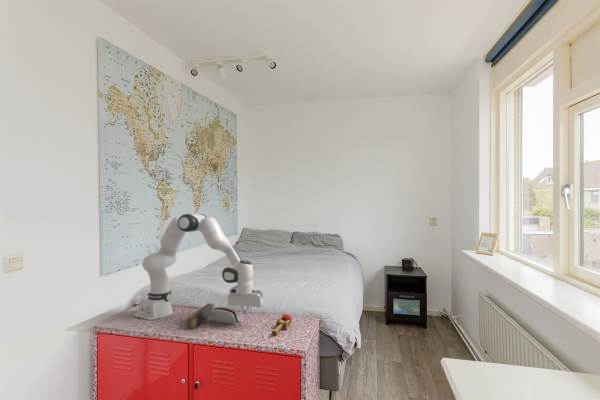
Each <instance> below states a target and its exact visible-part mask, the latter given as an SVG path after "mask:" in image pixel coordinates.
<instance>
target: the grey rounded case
mask: <svg viewBox="0 0 600 400" xmlns="http://www.w3.org/2000/svg"><path fill="white" fill-rule="evenodd" d="M211 321H213V322H217V323H218V322H219V323H223V324H231V325H236V326H237V325H238V323H239V322H241V319H240V318H239V316H238V314H237V311H236V310H235V309H233V308H230V307H225V306H216V307H215V306H214V309H213V310H212V312H211Z"/></svg>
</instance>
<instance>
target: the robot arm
mask: <svg viewBox="0 0 600 400" xmlns="http://www.w3.org/2000/svg"><path fill="white" fill-rule="evenodd" d="M217 221H218V220H216V218H214V217H213V216H207V215H205V214H203V213H197V212H196V213H185V214H182V215H179V216H175V217H174V218H173V219H172V220H171V221H170V222H169V224H168V225H167V227H166V229H165V231H164V232H163V234H162V236H161V239H160V241H159V243H160V248H159V249H158V251H157V252H153V253H151V254H149V255H147V256H145V257H144V258H143V259H142V264H141V265H142V267H143V269H144V270H145V271H146V273H147V274H148V277H149V281H150V292H148V293H147V294H146V297H147V298H146V299H145V300H144V301H143V302H142V303H140V304H139V306H138V310H137V311H136V312H135V313H133V317H134V316H135V317H134V318H138V317H140V318H139V319H143V318H144V320H147V321H148V320H149V321H153V320H156V319H161V318H166V317H169V316H171V315H172V314H173V313H174V311H173V308H172V301H171V297H172V290H171V278H170V276H169V275H168V273H167V270H166V268H168V267H171V266H172V265H174V264H175V263H176V261H177V259H178V255H177V252H178V248H179V246H180V243H181V241H182V240H183V238H184V236H185V234H186V233H194V232H195V233H196V232H200V233H201V234H202V236H203V239H204V240H205V243H206V244H207V246H208V247H209V248H210V249H213V250H217V251H221V253H224V254H225V256H226V257H227V259H228V260H229V262H230V263H231V265H229V266H226V267H225V268H224V269H223V270H222V274H221V276H222V277H221V278H222V279H223V281H224V282H225V283H228V284H233V283H236V284H237V285H235V286H232V287H231V288H230V289H228V291H229V293H228V296H227V304H228V306H237V307H238V306H239V307H240V309H241V311H242V312H241V313H242V314H244V315H248V314H249V310H250V308H261V307H263V305H264V301H263V297H264V295H263V293H264V292H263V291H261V290H260V289H254V281H253V278H254V267H253V263H252V261H249V260H245V259H244V260H243V259H242V258H241V257H240V255H239V253H238V252H237V250H236V249H235V247H234V245H233V244H232V243H231V241H229V239H228V238H227V236H226V235H225V234H224V232H223V230H222V228H221V225H220V224H219V222H217ZM244 307H246V309H245V308H244Z"/></svg>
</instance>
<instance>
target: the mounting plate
mask: <svg viewBox="0 0 600 400" xmlns="http://www.w3.org/2000/svg"><path fill="white" fill-rule="evenodd" d="M210 304H211V305H209V306H208V307H206V308H205V309H204V310H202V311H201V312H199V313H198V314H197V327H200V326H201V325H202V324H203V323H206V321H207V320H209V319H210V318H212V316H211V312H212V304H213V303H210ZM197 327H196V328H197Z"/></svg>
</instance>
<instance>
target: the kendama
mask: <svg viewBox="0 0 600 400" xmlns="http://www.w3.org/2000/svg"><path fill="white" fill-rule="evenodd" d="M291 323H292V317H291V315H290V314H288V313H285V314H283V315H282V316H281V317H278V318H277V319H276V322H275V326H276V327H274V329H273V330H272V331H271V335H272V336H274V337H277V336H278V334H279V332H280V331H281V329H282V328H283V327H284V329H285V330H289V329H290V326H291ZM288 328H289V329H288Z"/></svg>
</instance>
